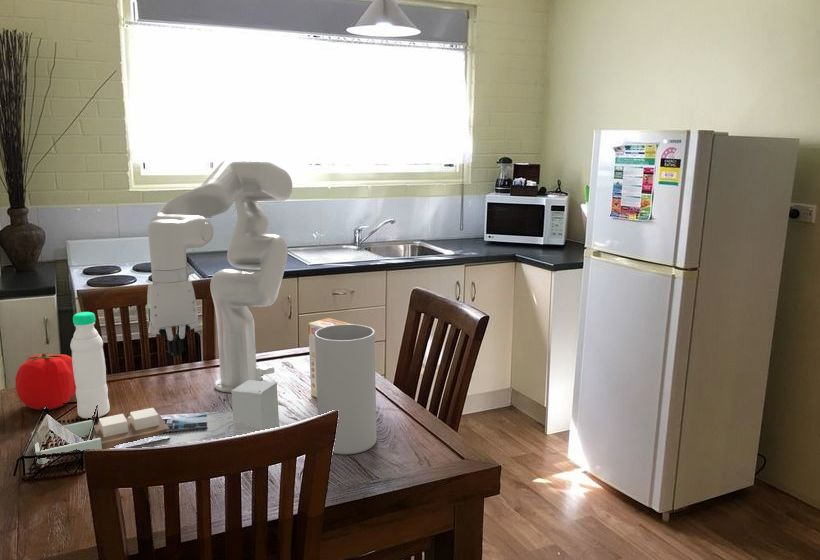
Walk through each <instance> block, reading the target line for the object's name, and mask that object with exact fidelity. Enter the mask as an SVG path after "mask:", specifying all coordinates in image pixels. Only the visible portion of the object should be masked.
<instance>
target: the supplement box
mask: <svg viewBox="0 0 820 560" xmlns="http://www.w3.org/2000/svg"><path fill="white" fill-rule="evenodd" d="M231 404H232V417H233V419H232V420H233V433H234V437H235V436H236V435H242V434H247V433H250V432H255V431H260V430H265V429H270V428H275V427H279V428H280V416H279V415H280V414H279V398H278V383H277V382H275V381H274V382H273V381H264V380H263V381H256V380H248V381H246V382H244V383H243V384H241V385H240V386H238V387H236V388H235V389H233V390H232V391H231Z"/></svg>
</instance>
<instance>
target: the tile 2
mask: <svg viewBox="0 0 820 560" xmlns="http://www.w3.org/2000/svg"><path fill="white" fill-rule="evenodd" d="M129 416H130V417H129V418H131V423H132V425H133V427H134V429H135V430H140V429H144V428H149V427H153V426H158V425H159V418H158V414H157V411H156V410H155V408H154V407H150V408H143V409H140V410H134V411H130V413H129Z"/></svg>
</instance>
